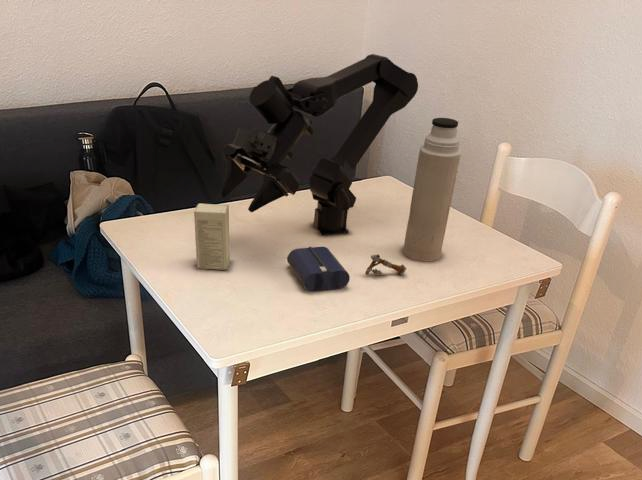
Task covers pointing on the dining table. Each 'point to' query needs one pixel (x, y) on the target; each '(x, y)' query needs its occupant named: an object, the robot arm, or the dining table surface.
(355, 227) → the dining table surface
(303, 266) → the pouch
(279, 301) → the dining table surface
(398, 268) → the wooden post with brackets
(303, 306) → the dining table surface
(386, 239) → the dining table surface
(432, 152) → the thermos bottle
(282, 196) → the robot arm
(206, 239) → the cosmetic box
